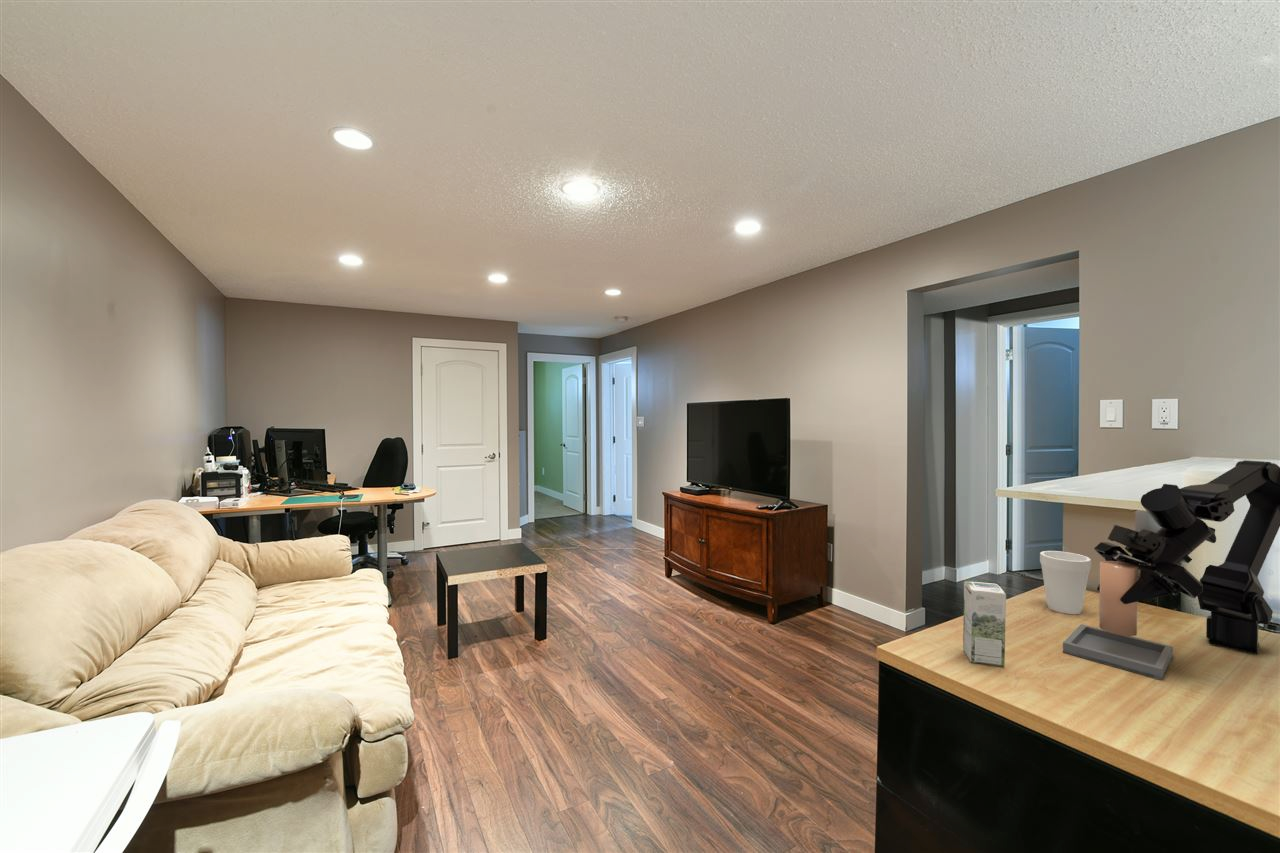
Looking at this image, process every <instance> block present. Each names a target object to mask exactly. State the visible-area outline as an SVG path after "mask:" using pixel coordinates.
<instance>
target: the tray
mask: <svg viewBox="0 0 1280 853" xmlns="http://www.w3.org/2000/svg"><path fill="white" fill-rule="evenodd" d="M1062 653H1063V654H1067V655H1071V656H1074V657H1076V658H1077V657H1078V658H1082V659H1085V660H1089V661H1092V662H1095V663H1098V664H1103V665H1106V666H1110V667H1114V668H1117V669H1120V670H1124V671H1128V672H1129V673H1130V672H1132V673H1133V674H1138V675H1142V676H1143V677H1144V676H1146V677H1149V678H1152V679H1156V680H1159V681H1162V680H1163V678H1164V676H1165V674H1166V672H1167V670H1168V669H1169V666H1170V664H1171V661H1172V660H1173V657H1174V645H1173V646H1172V645H1168V644H1165V643H1161V642H1156V641H1152V640H1149V639H1143V638H1140V637H1136V636H1123V635H1118V634H1113V633H1110V632H1107V631H1105V630H1102V629H1101V628H1100V627H1095V626H1092V625H1086V624H1082V623H1080V624H1079V626H1077V627H1076V629H1075V630H1074V631H1072V633H1071V634H1070V635H1069V636H1067V638H1066V639H1065V640H1064V641H1063V642H1062Z"/></svg>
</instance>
